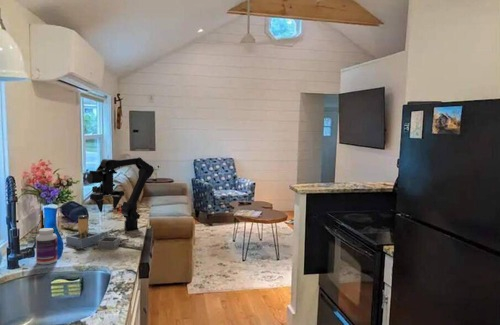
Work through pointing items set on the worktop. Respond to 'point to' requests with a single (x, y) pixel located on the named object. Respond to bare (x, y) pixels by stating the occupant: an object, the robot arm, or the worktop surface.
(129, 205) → the robot arm
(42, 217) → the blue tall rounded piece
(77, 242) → the bin
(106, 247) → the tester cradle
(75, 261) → the worktop surface
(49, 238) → the pill bottle
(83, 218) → the jumbo cell
